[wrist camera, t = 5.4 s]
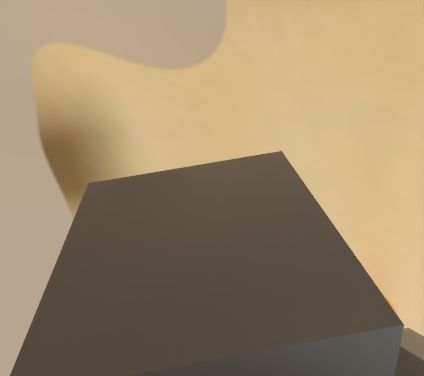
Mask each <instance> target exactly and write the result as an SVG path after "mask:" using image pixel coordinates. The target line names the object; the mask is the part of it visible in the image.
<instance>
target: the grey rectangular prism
mask: <svg viewBox="0 0 424 376" xmlns="http://www.w3.org/2000/svg"><path fill="white" fill-rule="evenodd" d="M403 327H404V324H403V323H402V321H401V320H400V319H399V317H398V316H397V314H396V313H395V311H394V310H393V309H392V307H391V306H390V304H389V303H388V301H387V300H386V299H385V297H384V296H383V294H382V293H381V292H380V290H379V289H378V287H377V286H376V284H375V283H374V282H373V280H372V279H371V277H370V276H369V275H368V273H367V272H366V270H365V269H364V267H363V266H362V265H361V263H360V262H359V260H358V259H357V258H356V256H355V255H354V253H353V252H352V250H351V249H350V248H349V246H348V245H347V243H346V242H345V241H344V239H343V238H342V236H341V235H340V233H339V232H338V231H337V229H336V228H335V226H334V225H333V224H332V222H331V221H330V219H329V218H328V216H327V215H326V214H325V212H324V211H323V209H322V208H321V206H320V205H319V204H318V202H317V201H316V199H315V198H314V197H313V195H312V194H311V192H310V191H309V189H308V188H307V187H306V185H305V184H304V182H303V181H302V180H301V178H300V177H299V175H298V174H297V172H296V171H295V170H294V168H293V167H292V165H291V164H290V163H289V161H288V160H287V158H286V157H285V155H284V154H283V153H282V151H279V152H273V153H267V154H261V155H255V156H249V157H244V158H238V159H232V160H226V161H220V162H214V163H208V164H202V165H196V166H190V167H184V168H178V169H172V170H166V171H160V172H154V173H148V174H142V175H136V176H130V177H124V178H118V179H112V180H106V181H100V182H94V183H89V184H88V186H87V188H86V191H85V193H84V196H83V198H82V201H81V203H80V206H79V208H78V210H77V213H76V215H75V218H74V220H73V223H72V225H71V228H70V230H69V233H68V235H67V237H66V240H65V242H64V245H63V247H62V250H61V252H60V255H59V257H58V260H57V262H56V264H55V267H54V269H53V272H52V274H51V277H50V279H49V281H48V284H47V286H46V289H45V291H44V294H43V296H42V299H41V301H40V304H39V306H38V308H37V311H36V313H35V316H34V318H33V321H32V323H31V326H30V328H29V331H28V333H27V335H26V338H25V340H24V343H23V345H22V348H21V350H20V352H19V355H18V357H17V360H16V362H15V365H14V367H13V370H12V372H11V374H10V376H395V371H396V365H397V360H398V354H399V349H400V343H401V338H402V333H403Z"/></svg>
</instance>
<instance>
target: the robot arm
mask: <svg viewBox="0 0 424 376" xmlns="http://www.w3.org/2000/svg"><path fill="white" fill-rule="evenodd" d="M395 376H424V336H422V335H420V334H418V333H417V332H415V331H413V330H411V329H410V328H405V329H403V333H402V338H401V343H400V349H399V354H398V360H397V365H396V371H395Z"/></svg>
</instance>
